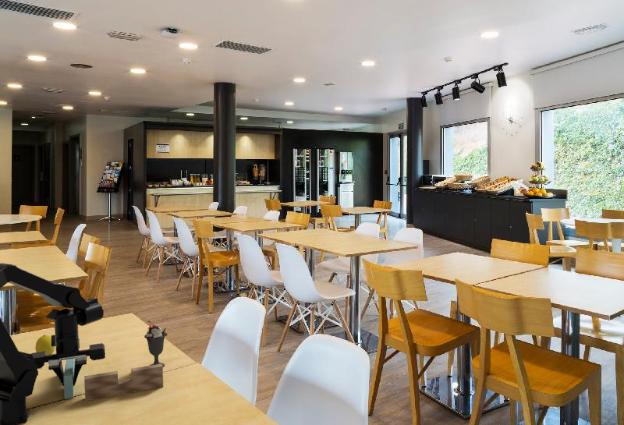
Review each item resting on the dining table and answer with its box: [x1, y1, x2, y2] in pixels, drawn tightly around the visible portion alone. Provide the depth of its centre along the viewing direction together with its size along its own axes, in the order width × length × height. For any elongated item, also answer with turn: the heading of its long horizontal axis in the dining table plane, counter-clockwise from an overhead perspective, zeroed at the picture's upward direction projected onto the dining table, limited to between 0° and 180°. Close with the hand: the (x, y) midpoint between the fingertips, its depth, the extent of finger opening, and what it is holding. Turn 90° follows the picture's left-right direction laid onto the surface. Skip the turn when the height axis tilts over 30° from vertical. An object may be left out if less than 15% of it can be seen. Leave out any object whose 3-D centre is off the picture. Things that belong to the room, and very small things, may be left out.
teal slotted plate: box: [63, 358, 75, 400], centre depth 138 cm, size 20×2×6 cm, turn 24°
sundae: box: [143, 320, 168, 368], centre depth 149 cm, size 7×7×15 cm
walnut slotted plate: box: [83, 364, 164, 402], centre depth 133 cm, size 20×2×6 cm, turn 114°
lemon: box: [35, 334, 56, 355], centre depth 156 cm, size 6×6×8 cm
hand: (69, 386), depth 133 cm, fingers closed on teal slotted plate, 2 cm apart
